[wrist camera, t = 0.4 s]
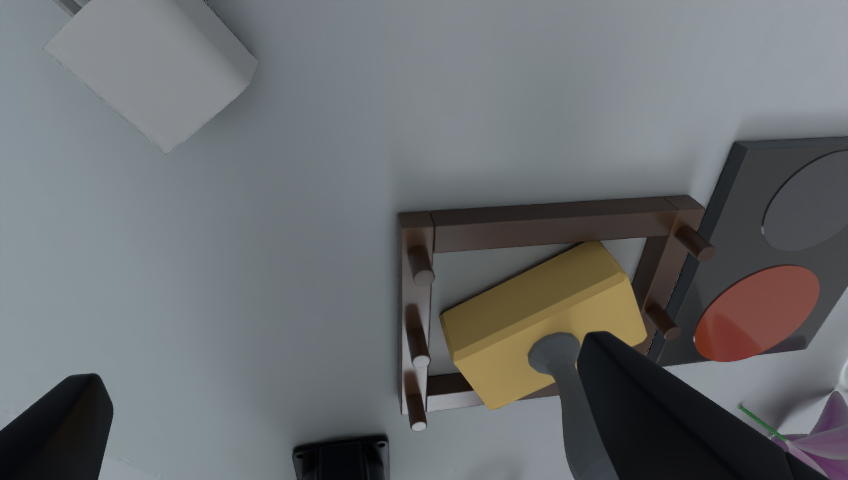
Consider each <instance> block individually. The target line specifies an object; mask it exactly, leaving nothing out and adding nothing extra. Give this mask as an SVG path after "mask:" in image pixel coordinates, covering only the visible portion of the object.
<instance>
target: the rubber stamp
mask: <svg viewBox="0 0 848 480" xmlns="http://www.w3.org/2000/svg"><path fill="white" fill-rule="evenodd" d="M439 317H440V321H441V325H442V328H443V332H444V335H445V339H446V342H447V346H448V350H449V353H450V356H451V358H452V361H453V362H454V364H455V365H456V366H457V368H458V369H459V370H460V372H461V373H462V374H463V376H464V377H465V378H466V380H467V381H468V382H469V384H470V385H471V386H472V388H473V389H474V390H475V392H476V393H477V394H478V396H479V397H480V398H481V400H482V401H483V402H484V404H485V405H486V406H487V408H488V409H489V410H493V409H498V408H500V407H502V406H504V405H507V404H509V403H511V402H513V401H515V400H517V399H520V398H522V397H524V396H526V395H528V394H530V393H533V392H535V391H537V390H539V389H541V388H543V387H546V386H548V385H550V384H552V383H554V382H556V384H557V387H558V390H559V393H560V398H561V406H562V423H563V438H564V447H565V453H566V458H567V461H568V465H569V468H570V470H571V473H572V475H573V477H574V479H575V480H619V478H618V476H617V474H616V472H615V470H614V467H613V465H612V463H611V461H610V459H609V457H608V454H607V452H606V450H605V448H604V445H603V443H602V441H601V438H600V435H599V433H598V430H597V427H596V424H595V421H594V418H593V415H592V412H591V410H590V407H589V404H588V401H587V398H586V395H585V392H584V389H583V386H582V383H581V380H580V377H579V374H578V371H577V358H578V355H579V352H580V348H581V345H582V342H583V339H584V336H585V335H586V334H587V333H588V332H593V331H608V332H610V333H612V334H613V335H614V336H616V337H617V338H619V339H620V340H622V341H623V342H625V343H626V344H628V345H629V346H631V347H632V346H635V345H637V344H639V343H641V342H643V341H644V340H645V338H646V337H647V333H646V329H645V326H644V323H643V320H642V317H641V314H640V311H639V308H638V305H637V302H636V299H635V296H634V292H633V289H632V286H631V283H630V280H629V277H628V275H627V274H626V272H625V271H624V270H623V269H622V267H621V266H620V265H619V264H618V263H617V261H616V260H615V259H614V258H613V257H612V255H611V254H610V253H609V252H608V251H607V249H606V248H605V247H604V246H603V245H602V244H601V242H600V241H588V242H584V243H582V244H580V245H578V246H576V247H574V248H572V249H570V250H568V251H566V252H564V253H562V254H560V255H558V256H556V257H554V258H552V259H550V260H548V261H546V262H544V263H542V264H540V265H538V266H536V267H534V268H532V269H530V270H528V271H526V272H524V273H522V274H520V275H518V276H516V277H514V278H512V279H510V280H508V281H506V282H504V283H502V284H500V285H498V286H496V287H494V288H492V289H490V290H488V291H486V292H484V293H482V294H480V295H478V296H476V297H474V298H472V299H470V300H468V301H466V302H464V303H462V304H460V305H458V306H456V307H454V308H452V309H450V310H448V311H446V312H444V313H443V314H441V315H440V316H439Z"/></svg>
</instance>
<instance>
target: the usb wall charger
mask: <svg viewBox="0 0 848 480" xmlns="http://www.w3.org/2000/svg"><path fill="white" fill-rule="evenodd" d="M54 1H55V2H56V3H57V4H58V5H59V6H60V7H61V8H62V9H63V10H64V11H66V12H67V13H68V14H69V15H70V16H71V17H72V18H71V19H70V20H69V21H68V22H67V23H66V24H65V25H64V26H63V27H62V28H61V29H60V30H59V31H58V32H57V33H56V34H55V35H54V36H53V37H52V38H51V39H50V40H49V41H48V42H47V43H46V44H45V45H44V47H43V49H44V50H45V51H46V52H47V53H49V54H50V55H51V56H52V57H53V58H54V59H56V60H57V61H58V62H59V63H60V64H61V65H63V66H64V67H65V68H66V69H67V70H68V71H70V72H71V73H72V74H73V75H74V76H75V77H76V78H78V79H79V80H80V81H81V82H82V83H83V84H85V85H86V86H87V87H88V88H89V89H90V90H92V91H93V92H94V93H95V94H96V95H97V96H99V97H100V98H101V99H102V100H103V101H104V102H106V103H107V104H108V105H109V106H110V107H111V108H113V109H114V110H115V111H116V112H117V113H118V114H120V115H121V116H122V117H123V118H124V119H125V120H127V121H128V122H129V123H130V124H131V125H132V126H134V127H135V128H136V129H137V130H138V131H139V132H141V133H142V134H143V135H144V136H145V137H146V138H147V139H149V140H150V141H151V142H152V143H153V144H154V145H156V146H157V147H158V148H159V149H160V150H161V151H163V152H164V153H165V154H168V153H170V152H171V151H172V150H174V149H175V148H176V147H177V146H179V145H180V144H181V143H182V142H183V141H185V140H186V139H187V138H188V137H190V136H191V135H192V134H193V133H194V132H196V131H197V130H198V129H199V128H200V127H202V126H203V125H204V124H205V123H207V122H208V121H209V120H210V119H211V118H213V117H214V116H215V115H216V114H217V113H219V112H220V111H221V110H222V109H224V108H225V107H226V106H227V105H228V104H230V103H231V102H232V101H233V100H234V99H235V98H237V97H238V96H239V95H240V94H241V93H242V92H243V91H244V90H245V89H246V88H247V86H248V85H249V84H250V82H251V80H252V78H253V75H254V73H255V71H256V69H257V67H258V65H259V62H258V61H257V60H256V59H255V58H254V57H253V56H252V55H251V53H250V52H249V51H248V50H247V49H246V48H245V47H244V46H243V44H242V43H241V42H240V41H239V40H238V39H237V38H236V37H235V36H234V34H233V33H232V32H231V31H230V30H229V29H228V28H227V27H226V25H225V24H224V23H223V22H222V21H221V20H220V19H219V18H218V17H217V15H216V14H215V13H214V12H213V11H212V10H211V9H210V8H209V6H208V5H207V4H206V3H205V2H204V1H203V0H90V1H89V2H88V3H87V4H86V5H85V6H84V7H83V8H81V7H80V6H79V5H78V4H77V3H76V2H75V1H74V0H54Z"/></svg>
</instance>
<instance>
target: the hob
mask: <svg viewBox="0 0 848 480" xmlns="http://www.w3.org/2000/svg"><path fill="white" fill-rule="evenodd" d="M698 233H699V234H700V235H701V236H702V237H704V238H705V239H706V240H707V241H708V242H709V243H711V244H712V245H713V246H714V247H715V248H716V254H715V256H714V257H713V258H712V259H711V260H709V261H707V262H699V261H698V260H697V259H696V258H695V257H694V256H693V255H691V254H690V253H689V255H688V258H687V260H686V262H685V265H684V267H683V270H682V272H681V275H680V277H679V279H678V282H677V284H676V287H675V289H674V292H673V294H672V297H671V299H670V301H669V304H668V306H667V309H666V312H667V314H668V315H669V316H670V317H671V318H672V319H673V321H674V322H675V323H676V324H677V325H678V327H679V328H680V329H681V333H680V334H679V336H678V337H676V338H675V339H672V340H666V339H665V338H664V337H663V336H662V334H661V333H660V332H659V331H657V333H656V336H655V338H654V340H653V343H652V345H651V348H650V350H649V353H648V355H647V358H649V359H650V360H652V361H653V362H655V363H656V364H658V365H659V366H661V367H664V366H672V365H680V364H689V363H697V362H705V361H718V362H731V361H737V360H742V359H746V358H749V357H752V356H755V355H763V354H771V353H779V352H787V351H796V350H804V349H806V348H807V347H808V345H809V343H810V342H811V340H812V339H813V337H814V336H815V334H816V333H817V331H818V330H819V328H820V327H821V325H822V324H823V322H824V321H825V319H826V318H827V316H828V315H829V313H830V312H831V310H832V309H833V307H834V306H835V304H836V303H837V301H838V300H839V298H840V297H841V295H842V294H843V292H844V291H845V289H846V288H847V286H848V137H834V138H811V139H788V140H766V141H743V142H735V143H734V145H733V148H732V150H731V153H730V155H729V157H728V160H727V162H726V165H725V167H724V170H723V172H722V175H721V177H720V179H719V182H718V184H717V187H716V189H715V192H714V194H713V196H712V199H711V201H710V204H709V206H708V209H707V211H706V214H705V216H704V218H703V221H702V223H701V226H700V228H699V231H698Z"/></svg>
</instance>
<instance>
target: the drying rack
mask: <svg viewBox="0 0 848 480" xmlns="http://www.w3.org/2000/svg"><path fill="white" fill-rule="evenodd" d="M704 211H705V207H703V206H702V205H701V204H700V203H698V202H697V201H696V200H694V199H693V198H692V197H690V196H689V195H682V196H665V197H650V198H633V199H617V200H601V201H585V202H569V203H553V204H537V205H521V206H505V207H489V208H473V209H457V210H440V211H430V213H429V212H428V211H424V212H408V213H398V397H399V404H400V411H401V415H406V414H408V416H409V422H410V428H411V429H412V430H413V431H416V432H419V431H422V430H424V429H425V428H426V427H427V420H426V415H425V412H431V411H438V410H446V409H454V408H462V407H470V406H478V405H485V404H484V402H483V401H482V400H481V398H480V397H479V396H478V394H477V393H476V392H475V390H474V389H473V388H472V386H471V385H470V384H469V382H468V381H467V380H466V378H465V377H464V376H463V374H462V373H458V374H449V375H441V376H432V377H427V376H428V365H429V363H430V361H431V359H430V355H429V332H430V310H431V288H432V282H433V281H434V278H435V275H434V271H433V268H432V266H433V252H434V253H443V252H456V251H469V250H482V249H495V248H509V247H522V246H535V245H548V244H561V243H574V242H588V241H601V240H614V239H627V238H640V237H649V238H648V241H647V244H646V247H645V250H644V252H643V255H642V258H641V261H640V264H639V267H638V270H637V273H636V276H635V279H634V281H633V284H632V289H633V292H634V296H635V299H636V302H637V305H638V308H639V311H640V314H641V317H642V320H643V323H644V326H645V329H646V333H647V337H646V338H645V340H644V341H643V342H641V343H639V344H637V345H635V346H632V348H634V349H635V350H637V351H638V352H640V353H641V354H643V355H644V356H646V354H647V351H648V349H649V347H650V344H651V342H652V339H653V337H654V334H655V332H656V329H658V331H659V332H660V333H661V334H662V336H663V337H664V338H665V339H666V340H672V339H675V338H676V337H678V336H679V334H680V333H681V329H680V328H679V327H678V325H677V324H676V323H675V322H674V321H673V319H672V318H671V317H670V316H669V315H668V314H667V312H666V311H665V307H666V305H667V302H668V300H669V297H670V295H671V292H672V290H673V288H674V285H675V283H676V280H677V278H678V275H679V273H680V270H681V268H682V265H683V263H684V261H685V258H686V256H687V253H688V252H689V253H690V254H691V255H693V256H694V257H695V258H696V259H697V260H698V261H699V262H707V261H709V260H711V259H712V258H713V257H714V256H715V254H716V248H715V247H714V246H713V245H712V244H711V243H709V242H708V241H707V240H706V239H705V238H704V237H702V236H701V235H700V234H699V233H698V232H697V229H698V226H699V224H700V221H701V219H702V216H703V214H704ZM557 395H560V393H559V390H558V387H557V384H556V382H554V383H552V384H550V385H548V386H546V387H543V388H541V389H539V390H537V391H535V392H533V393H530V394H528V395H526V396H524V397H522V398H520V399H517V400H525V399H533V398H541V397H549V396H557ZM517 400H515V401H517Z"/></svg>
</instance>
